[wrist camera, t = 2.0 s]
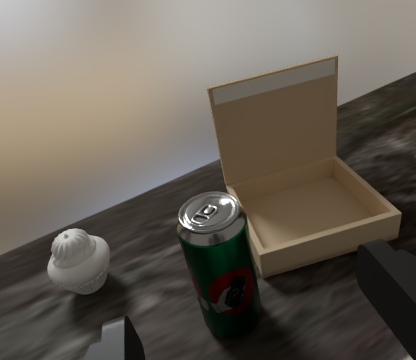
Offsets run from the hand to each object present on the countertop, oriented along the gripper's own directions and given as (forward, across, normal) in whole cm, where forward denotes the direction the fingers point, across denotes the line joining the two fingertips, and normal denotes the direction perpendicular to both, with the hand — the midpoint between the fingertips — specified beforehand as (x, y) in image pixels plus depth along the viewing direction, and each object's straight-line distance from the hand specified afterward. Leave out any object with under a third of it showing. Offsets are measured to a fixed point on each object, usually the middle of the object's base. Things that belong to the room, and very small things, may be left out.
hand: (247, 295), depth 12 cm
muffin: (+20, +13, +17) cm, 30 cm away
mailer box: (+20, -11, +17) cm, 29 cm away
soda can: (+12, 0, +17) cm, 21 cm away
